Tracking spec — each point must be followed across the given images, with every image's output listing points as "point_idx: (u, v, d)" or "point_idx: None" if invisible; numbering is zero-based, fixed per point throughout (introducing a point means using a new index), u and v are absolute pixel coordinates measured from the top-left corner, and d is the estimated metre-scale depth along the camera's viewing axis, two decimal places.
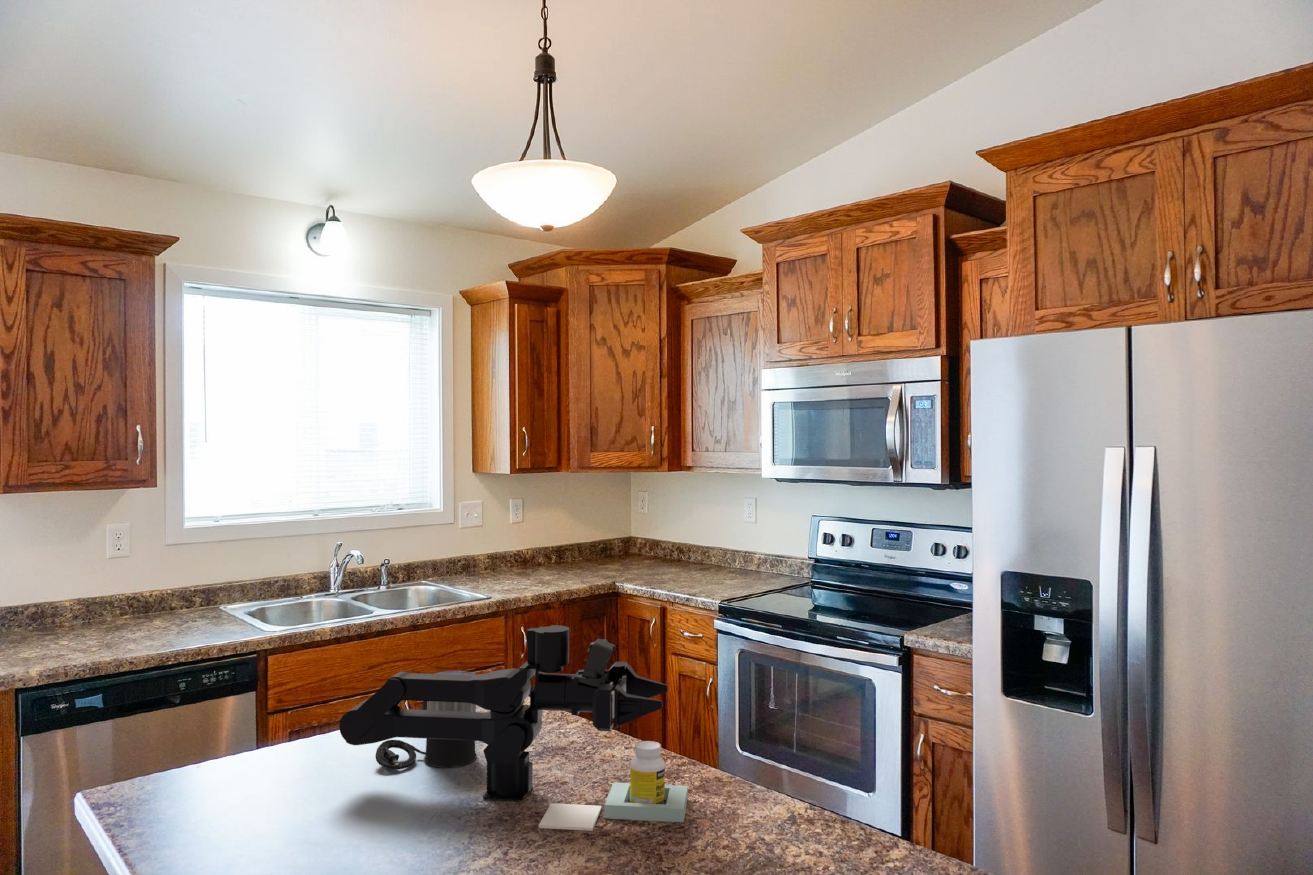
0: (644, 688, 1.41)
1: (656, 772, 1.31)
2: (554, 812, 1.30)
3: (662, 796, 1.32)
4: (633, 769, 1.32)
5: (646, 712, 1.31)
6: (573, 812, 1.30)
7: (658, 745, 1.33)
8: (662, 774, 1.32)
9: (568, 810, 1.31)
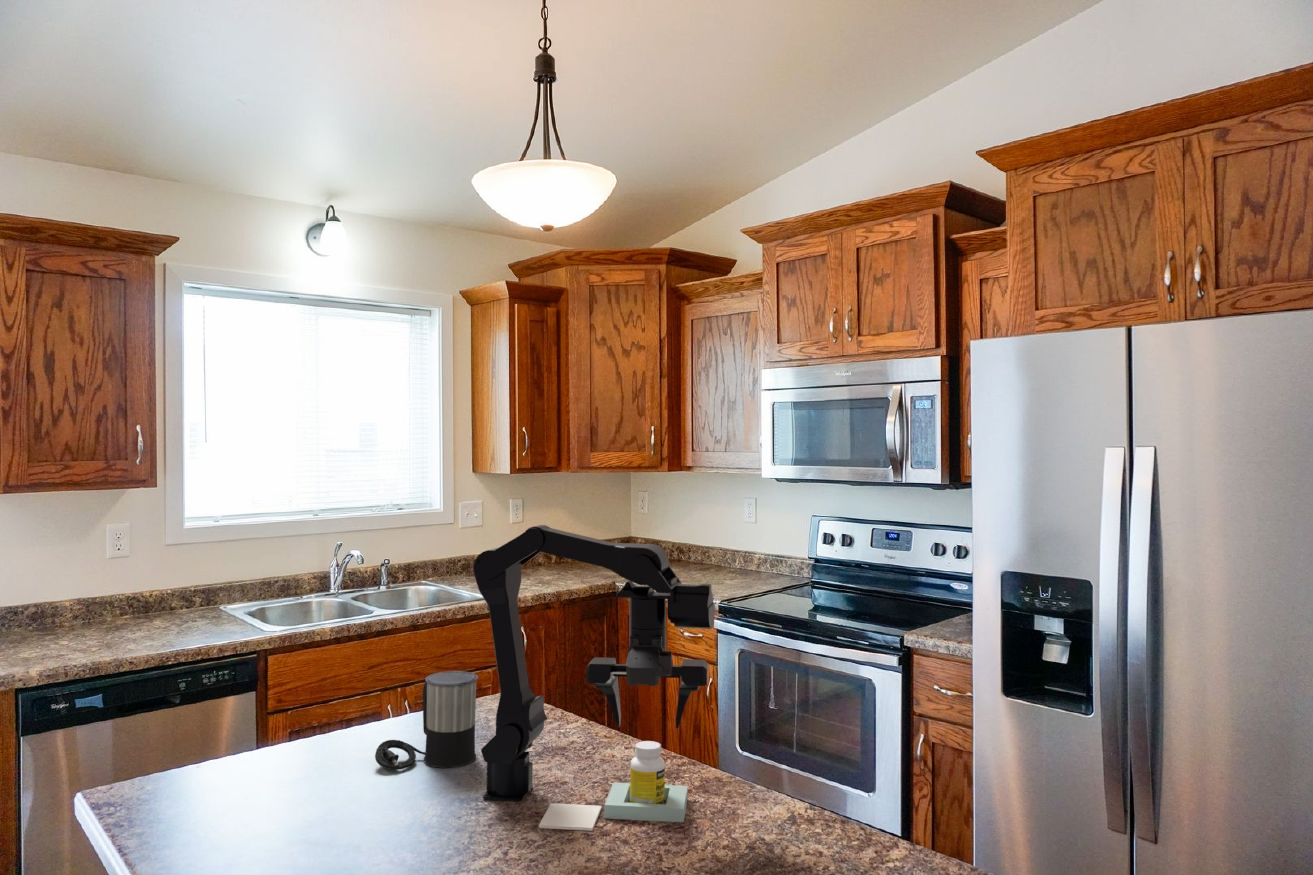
0: None
1: (656, 772, 1.31)
2: (554, 812, 1.30)
3: (662, 796, 1.32)
4: (633, 769, 1.32)
5: None
6: (573, 812, 1.30)
7: (658, 745, 1.33)
8: (662, 774, 1.32)
9: (568, 810, 1.31)
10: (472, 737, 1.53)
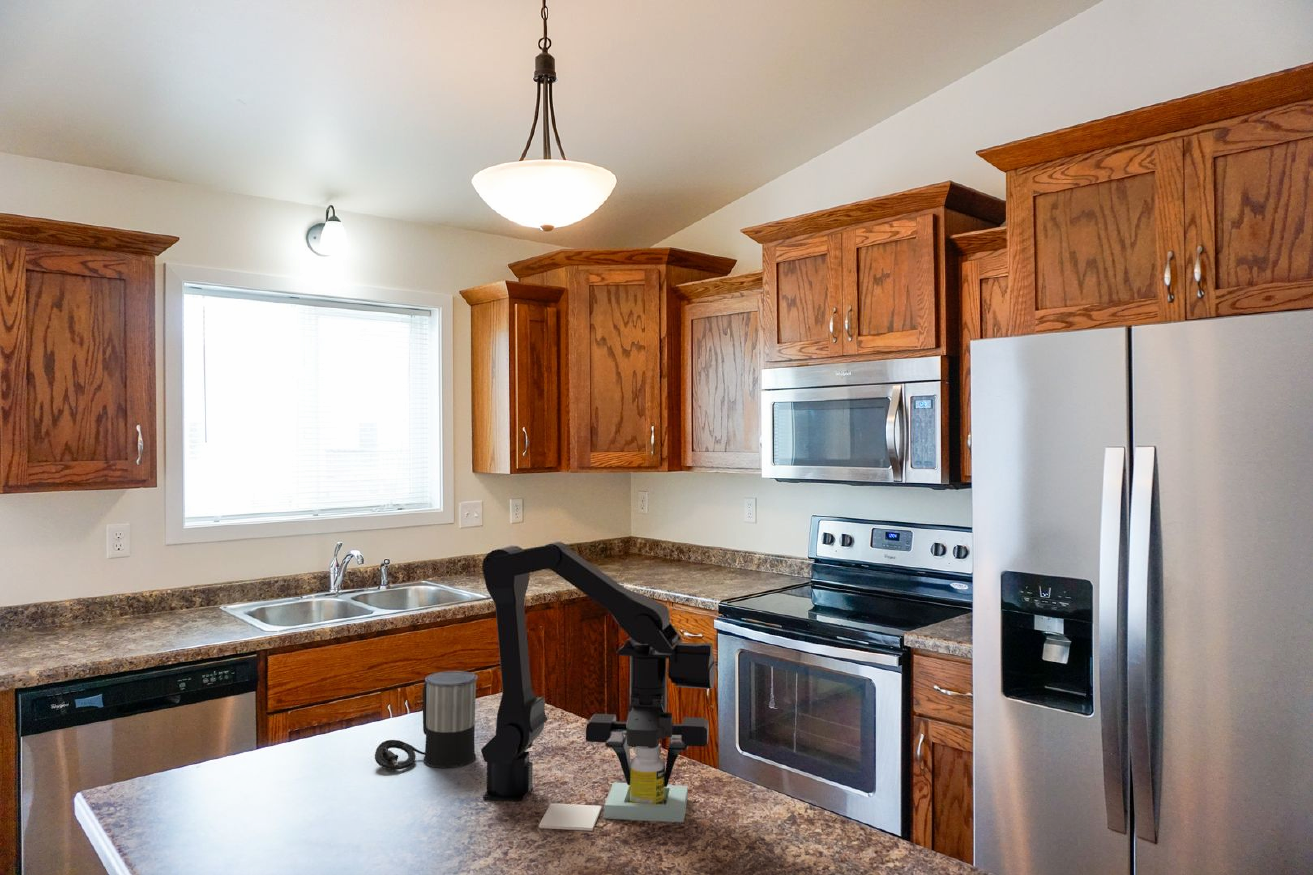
0: None
1: (656, 772, 1.31)
2: (554, 812, 1.30)
3: (662, 796, 1.32)
4: (633, 769, 1.32)
5: None
6: (573, 812, 1.30)
7: (658, 745, 1.33)
8: (662, 774, 1.32)
9: (568, 810, 1.31)
10: (472, 737, 1.53)
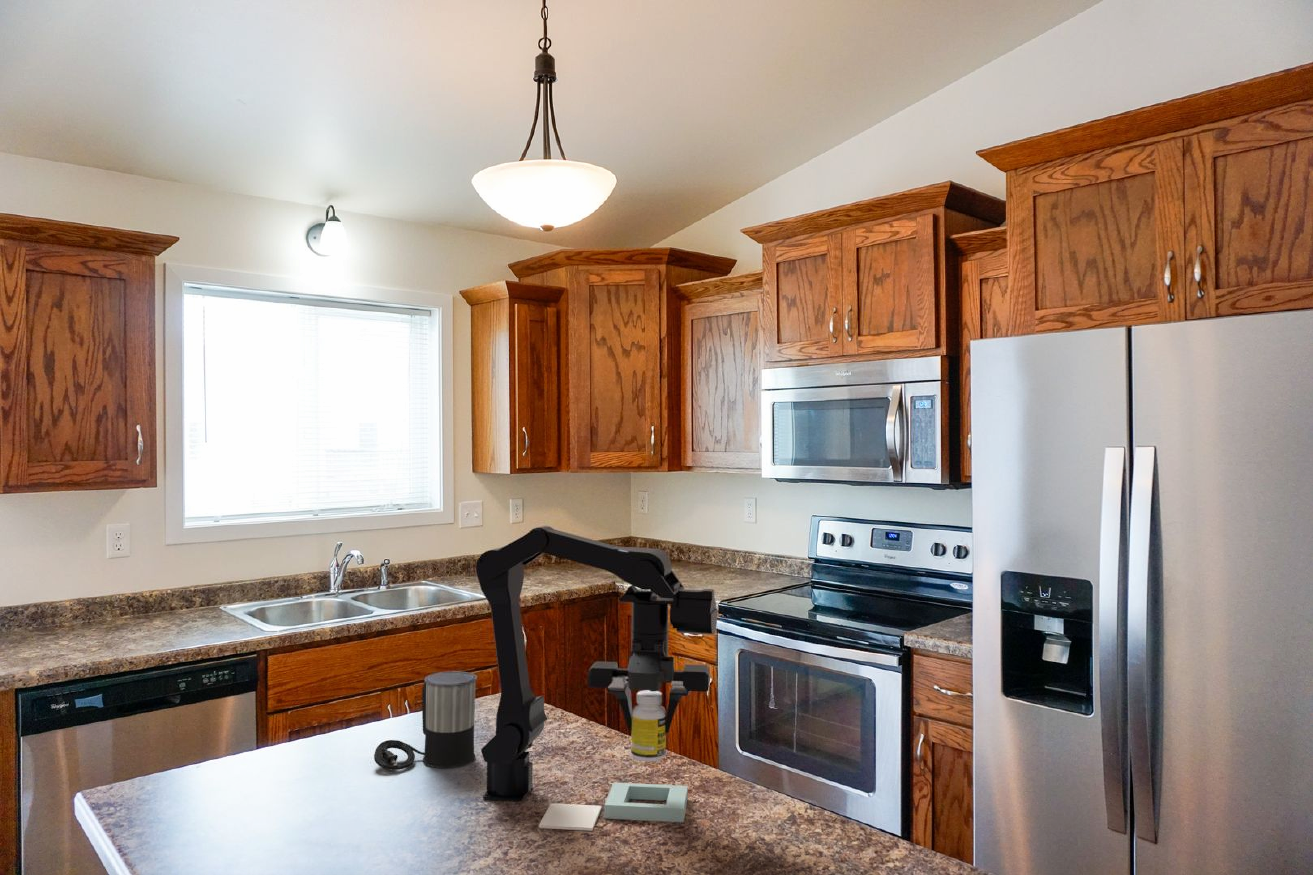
0: None
1: (657, 720, 1.31)
2: (554, 812, 1.30)
3: (663, 744, 1.32)
4: (635, 717, 1.32)
5: None
6: (573, 812, 1.30)
7: (659, 693, 1.34)
8: (663, 722, 1.32)
9: (568, 810, 1.31)
10: (471, 737, 1.53)
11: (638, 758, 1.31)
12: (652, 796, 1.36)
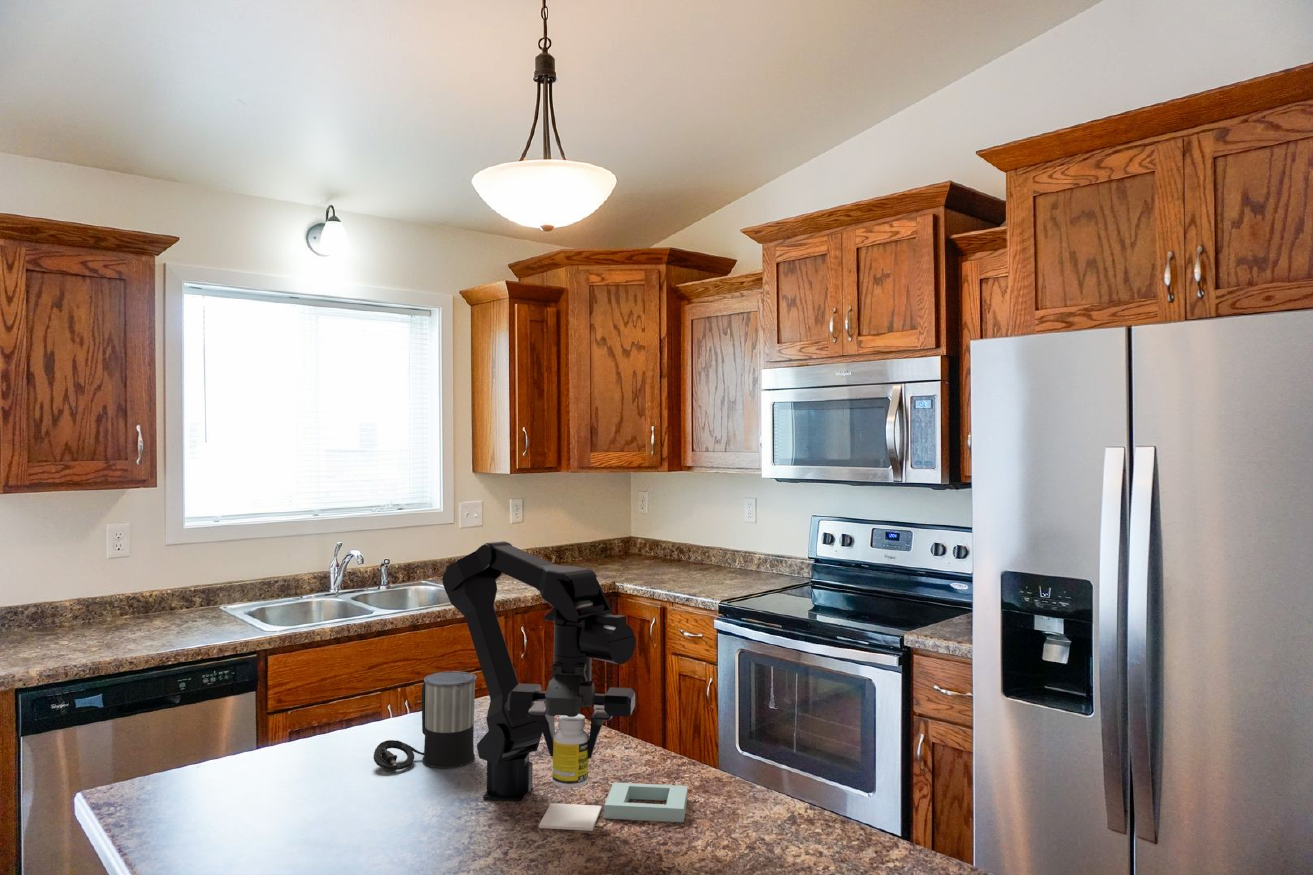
0: None
1: (578, 745, 1.27)
2: (554, 812, 1.30)
3: (585, 769, 1.28)
4: (555, 742, 1.28)
5: None
6: (573, 812, 1.30)
7: (582, 717, 1.30)
8: (585, 747, 1.28)
9: (568, 810, 1.31)
10: (471, 737, 1.53)
11: (558, 784, 1.27)
12: (652, 796, 1.36)
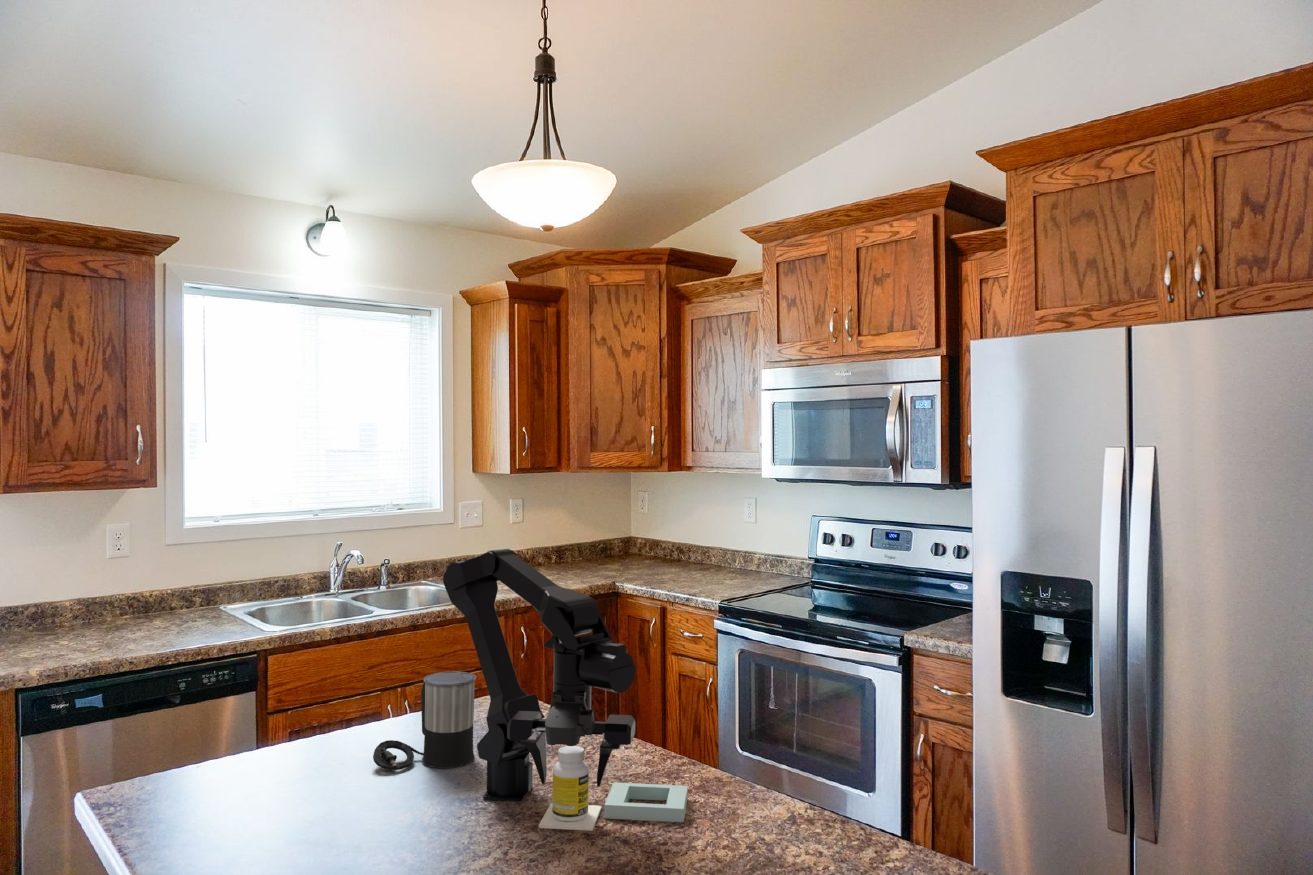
0: None
1: (578, 778, 1.27)
2: None
3: (585, 802, 1.28)
4: (555, 775, 1.28)
5: None
6: None
7: (581, 750, 1.30)
8: (585, 780, 1.28)
9: None
10: (470, 738, 1.53)
11: (558, 818, 1.27)
12: (652, 796, 1.36)
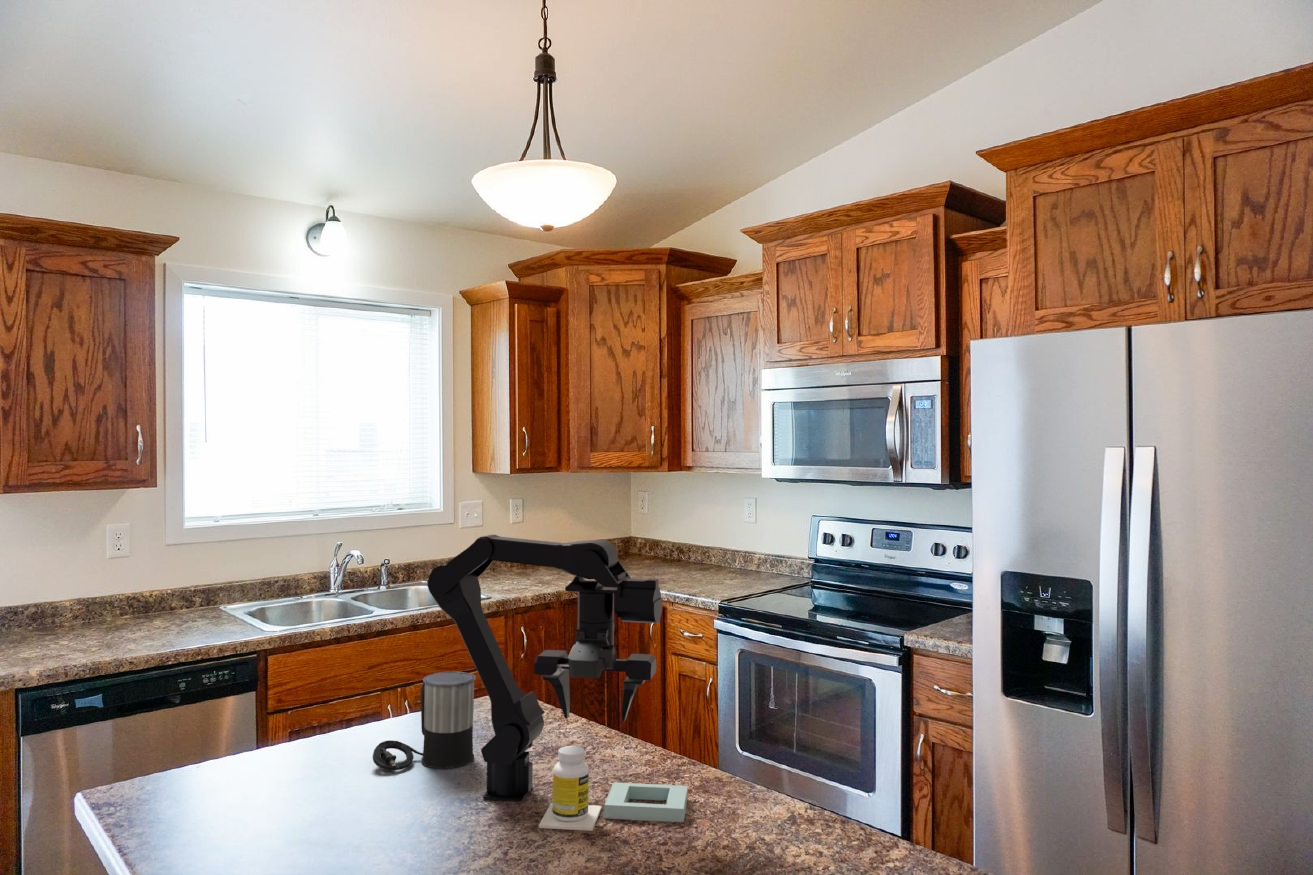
0: None
1: (578, 778, 1.27)
2: None
3: (585, 803, 1.28)
4: (555, 775, 1.28)
5: None
6: None
7: (582, 750, 1.29)
8: (585, 780, 1.28)
9: None
10: (470, 738, 1.53)
11: (558, 818, 1.27)
12: (652, 796, 1.36)
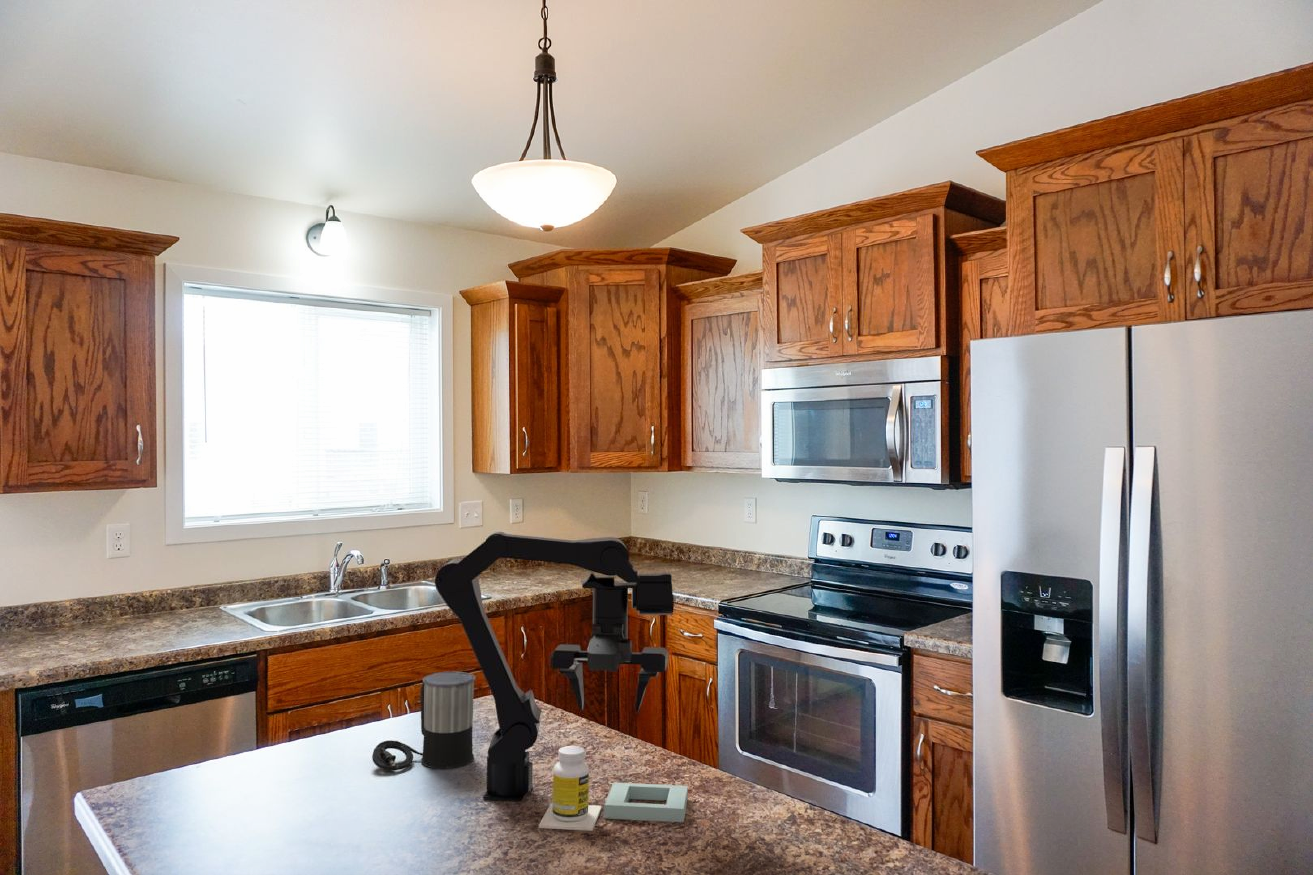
0: None
1: (578, 778, 1.27)
2: None
3: (585, 803, 1.28)
4: (555, 775, 1.28)
5: None
6: None
7: (582, 750, 1.30)
8: (585, 780, 1.28)
9: None
10: (469, 738, 1.53)
11: (558, 818, 1.27)
12: (652, 796, 1.36)
